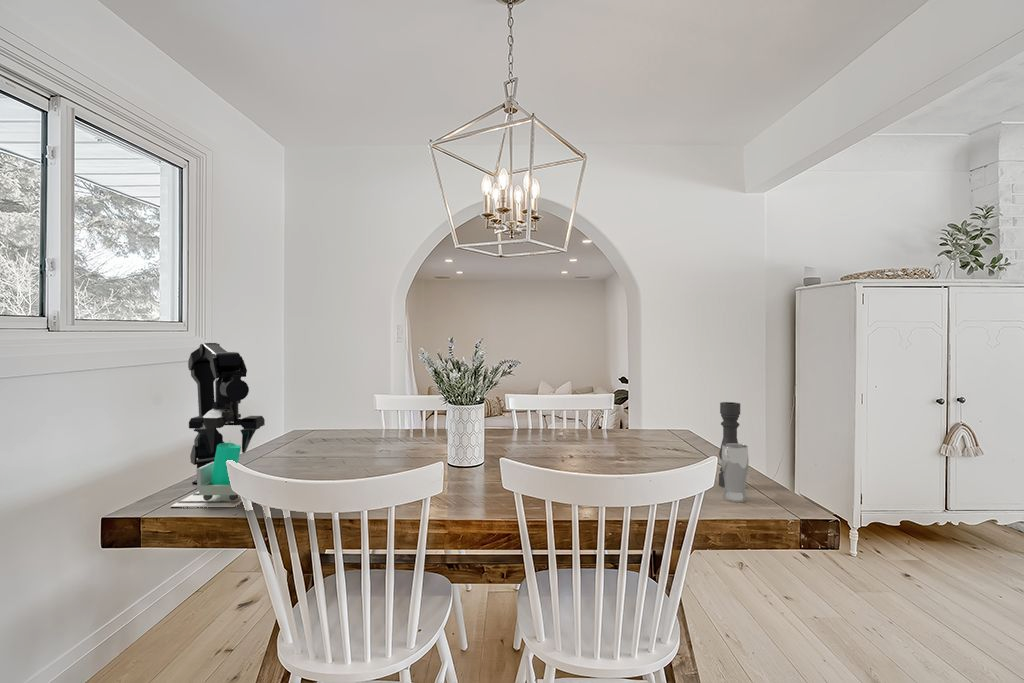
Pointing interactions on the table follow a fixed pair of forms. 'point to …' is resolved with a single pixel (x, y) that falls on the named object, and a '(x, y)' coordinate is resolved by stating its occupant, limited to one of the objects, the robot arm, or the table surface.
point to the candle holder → (728, 428)
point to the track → (199, 501)
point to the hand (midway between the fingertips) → (227, 452)
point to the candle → (222, 455)
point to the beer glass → (734, 471)
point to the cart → (207, 487)
